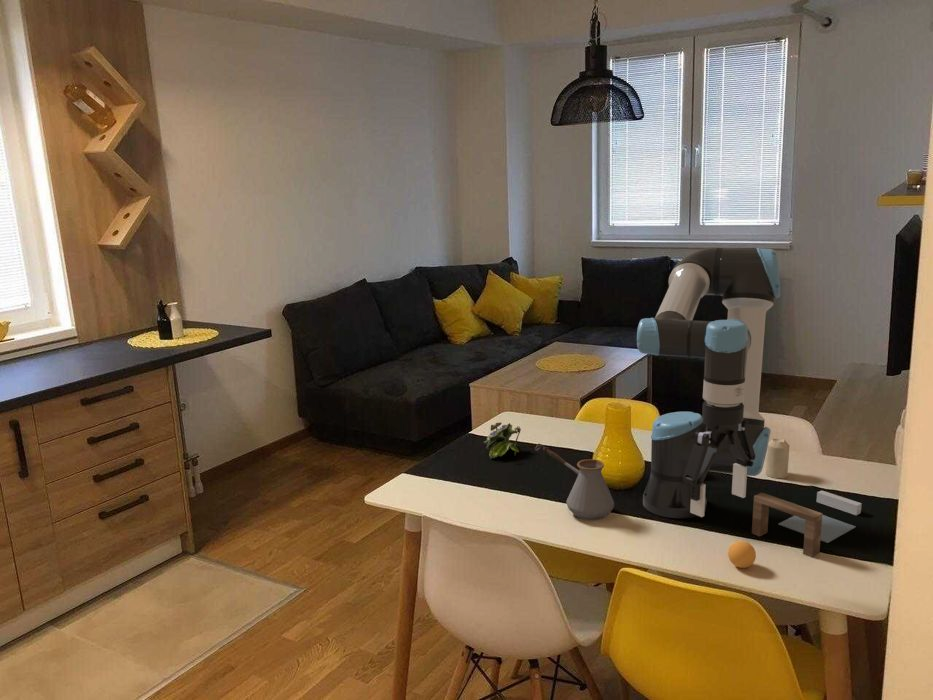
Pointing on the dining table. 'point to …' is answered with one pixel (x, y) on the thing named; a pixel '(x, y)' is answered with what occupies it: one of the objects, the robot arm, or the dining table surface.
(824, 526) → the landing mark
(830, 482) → the dining table surface
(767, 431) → the robot arm
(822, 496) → the wall
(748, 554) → the ball
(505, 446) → the green leafy plant
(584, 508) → the coffee pot
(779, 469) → the candle
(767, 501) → the bridge
